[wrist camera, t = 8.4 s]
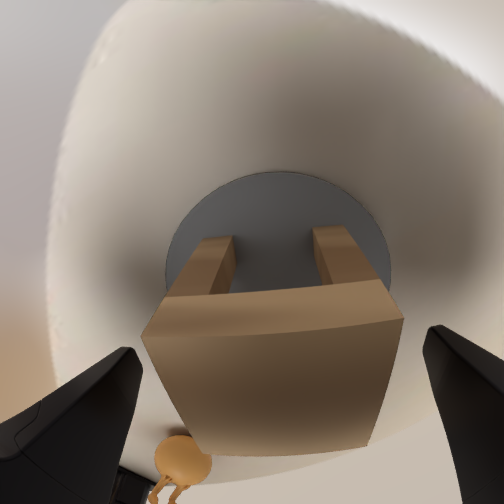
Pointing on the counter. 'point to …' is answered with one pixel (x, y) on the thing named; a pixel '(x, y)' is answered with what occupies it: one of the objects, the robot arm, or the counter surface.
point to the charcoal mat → (276, 230)
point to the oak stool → (276, 352)
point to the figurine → (179, 465)
